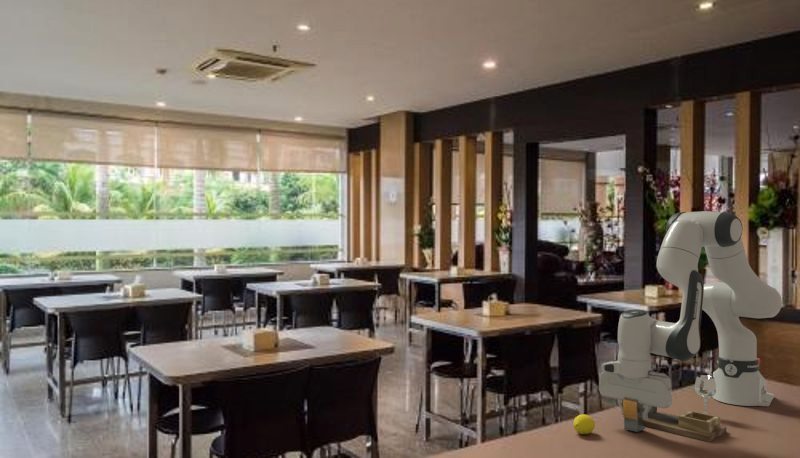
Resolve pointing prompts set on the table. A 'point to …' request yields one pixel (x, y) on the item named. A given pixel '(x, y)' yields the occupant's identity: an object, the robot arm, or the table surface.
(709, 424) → the rail
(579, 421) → the lemon
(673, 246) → the robot arm
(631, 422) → the grey metal slab
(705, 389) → the wineglass
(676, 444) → the table surface
